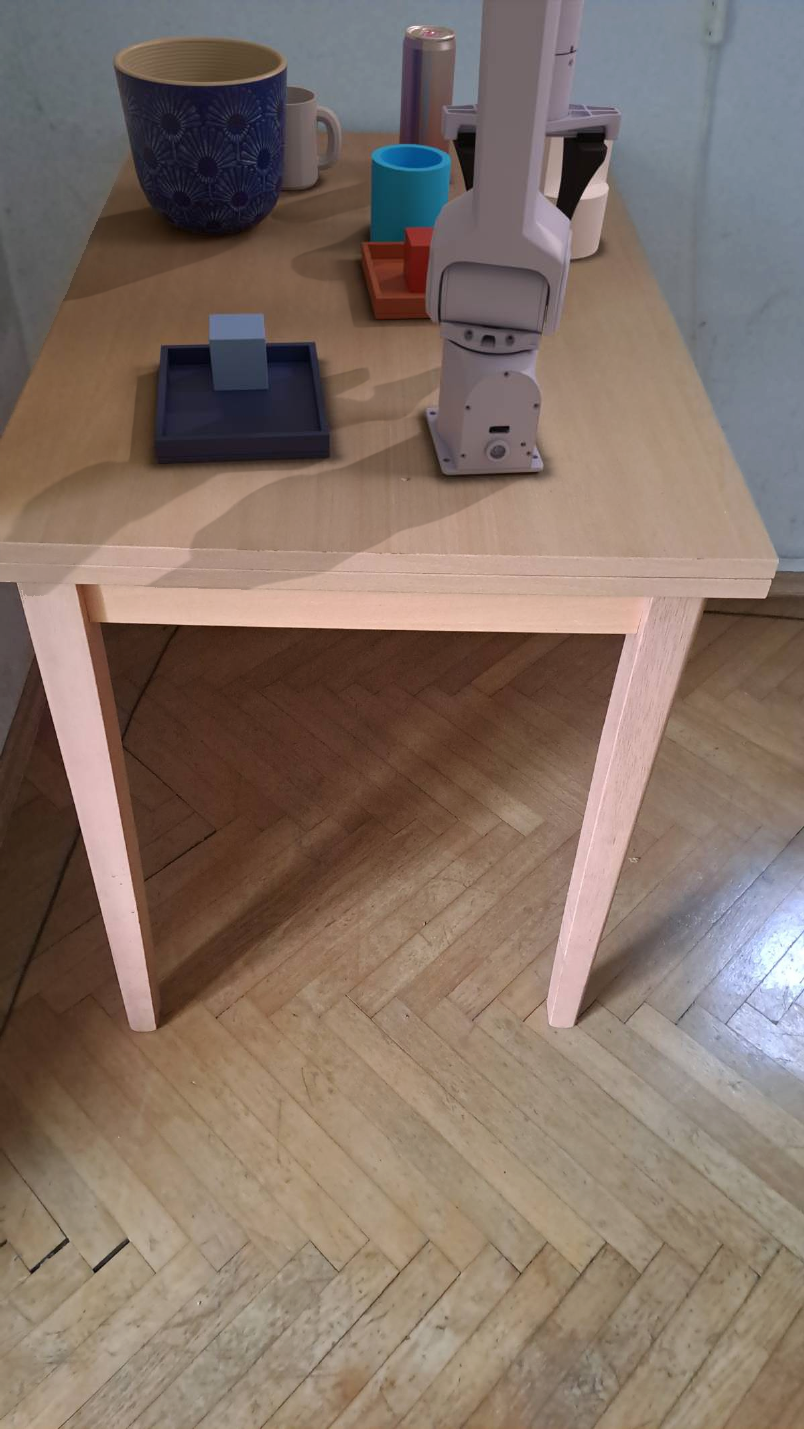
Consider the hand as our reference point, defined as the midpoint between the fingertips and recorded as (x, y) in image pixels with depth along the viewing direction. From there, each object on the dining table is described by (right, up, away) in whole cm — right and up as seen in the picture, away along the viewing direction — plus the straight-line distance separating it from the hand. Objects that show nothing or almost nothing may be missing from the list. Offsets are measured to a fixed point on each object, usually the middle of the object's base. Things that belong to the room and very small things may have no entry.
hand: (518, 228), depth 86 cm
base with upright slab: (+7, +9, +22) cm, 25 cm away
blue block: (-24, -14, -2) cm, 28 cm away
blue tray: (-23, -17, -5) cm, 29 cm away
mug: (-9, +10, +22) cm, 26 cm away
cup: (-22, +21, +32) cm, 44 cm away
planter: (-31, +12, +22) cm, 40 cm away
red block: (-8, +1, +12) cm, 15 cm away
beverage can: (-8, +23, +34) cm, 42 cm away
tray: (-8, 0, +13) cm, 15 cm away
